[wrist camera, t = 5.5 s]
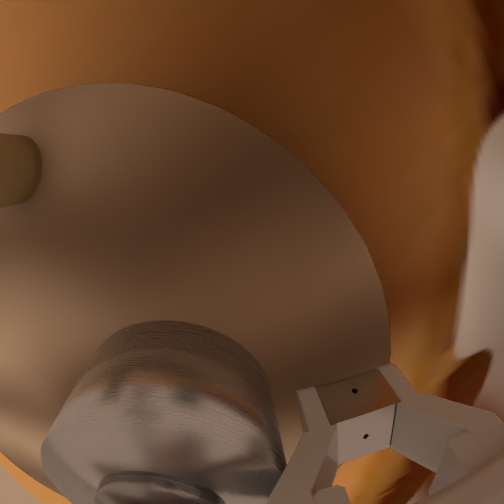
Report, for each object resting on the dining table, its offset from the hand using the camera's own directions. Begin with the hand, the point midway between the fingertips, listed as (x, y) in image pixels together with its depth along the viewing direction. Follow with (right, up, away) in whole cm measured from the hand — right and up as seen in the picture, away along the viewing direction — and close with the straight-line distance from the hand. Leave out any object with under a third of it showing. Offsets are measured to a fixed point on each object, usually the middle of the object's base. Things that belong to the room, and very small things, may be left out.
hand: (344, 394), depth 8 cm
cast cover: (-5, -1, +1) cm, 5 cm away
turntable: (-8, -1, +4) cm, 9 cm away
